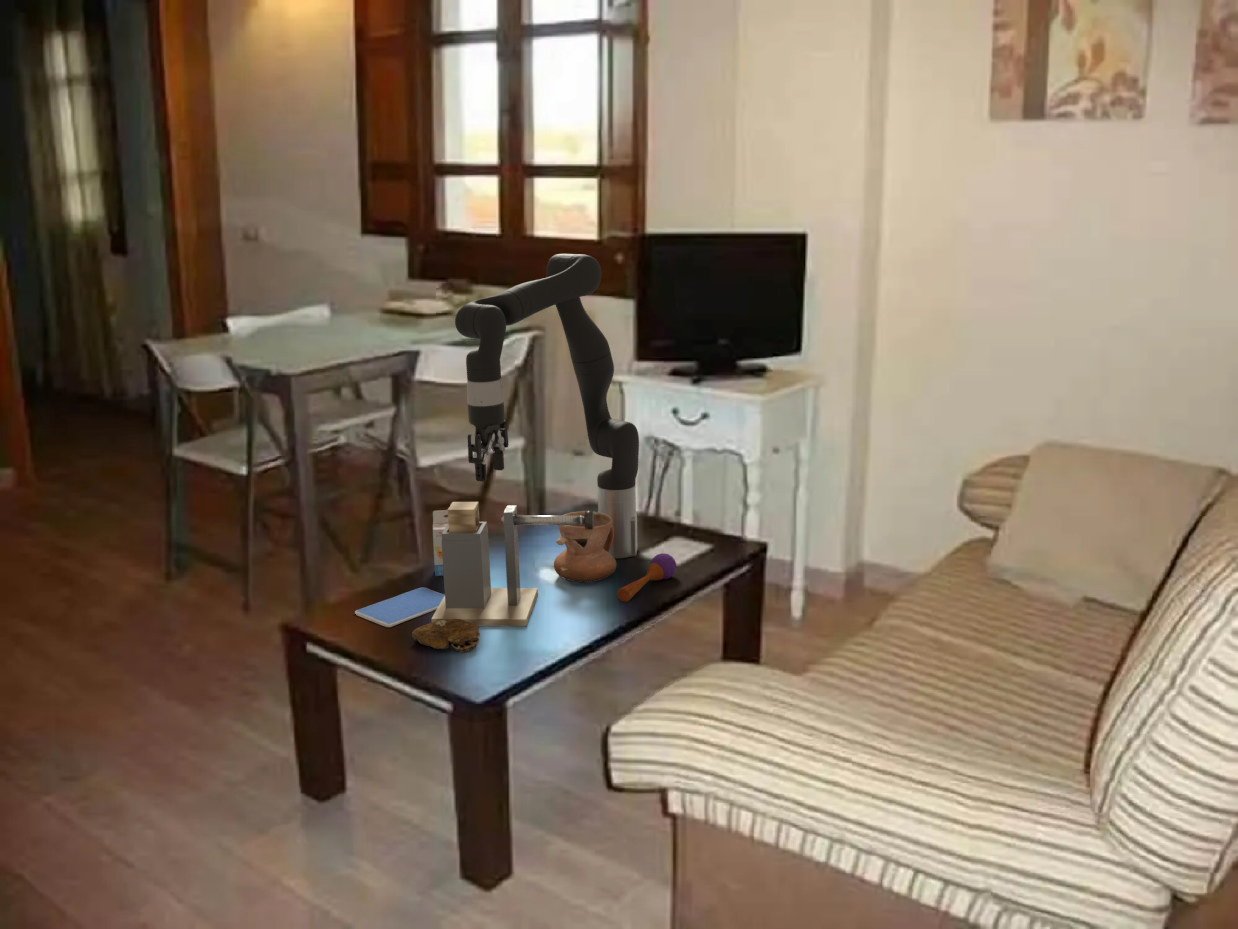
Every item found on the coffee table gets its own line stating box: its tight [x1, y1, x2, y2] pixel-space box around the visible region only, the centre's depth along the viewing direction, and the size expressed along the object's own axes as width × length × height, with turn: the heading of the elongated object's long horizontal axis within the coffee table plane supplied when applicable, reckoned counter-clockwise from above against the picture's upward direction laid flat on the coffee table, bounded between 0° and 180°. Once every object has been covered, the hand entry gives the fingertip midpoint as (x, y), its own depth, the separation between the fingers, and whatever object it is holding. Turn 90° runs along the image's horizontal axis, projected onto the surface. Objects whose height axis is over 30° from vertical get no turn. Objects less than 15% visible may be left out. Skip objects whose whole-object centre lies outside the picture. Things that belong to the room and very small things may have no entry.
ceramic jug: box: [553, 510, 618, 583], centre depth 275 cm, size 18×14×14 cm
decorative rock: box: [411, 619, 481, 653], centre depth 241 cm, size 11×4×15 cm
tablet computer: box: [354, 586, 445, 628], centre depth 260 cm, size 19×13×1 cm, turn 138°
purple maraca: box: [616, 552, 677, 603], centre depth 268 cm, size 6×6×20 cm
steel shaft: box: [500, 510, 594, 530], centre depth 252 cm, size 20×4×4 cm, turn 86°
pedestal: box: [442, 521, 492, 609], centre depth 256 cm, size 8×8×17 cm
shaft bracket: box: [503, 504, 521, 606], centre depth 255 cm, size 2×5×21 cm, turn 176°
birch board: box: [431, 587, 539, 627], centre depth 258 cm, size 20×18×2 cm
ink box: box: [432, 509, 448, 577], centre depth 279 cm, size 8×5×15 cm, turn 98°
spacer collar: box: [447, 501, 481, 533], centre depth 254 cm, size 6×6×6 cm
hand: (490, 475), depth 251 cm, fingers open, 8 cm apart
